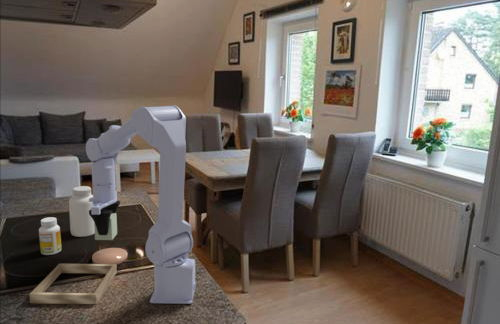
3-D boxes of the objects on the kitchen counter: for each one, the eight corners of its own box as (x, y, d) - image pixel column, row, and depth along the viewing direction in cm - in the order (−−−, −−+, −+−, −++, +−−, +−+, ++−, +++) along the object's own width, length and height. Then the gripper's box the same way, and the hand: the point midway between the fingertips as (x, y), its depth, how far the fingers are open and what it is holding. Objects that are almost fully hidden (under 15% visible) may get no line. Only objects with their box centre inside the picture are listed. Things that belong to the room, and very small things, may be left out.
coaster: (130, 251, 113) (130, 248, 113) (121, 266, 104) (121, 262, 104) (99, 251, 113) (99, 247, 112) (87, 265, 104) (87, 261, 104)
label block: (117, 233, 108) (116, 212, 107) (112, 240, 104) (111, 218, 102) (101, 233, 108) (99, 212, 107) (95, 239, 104) (93, 218, 102)
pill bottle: (93, 237, 122) (90, 191, 119) (66, 237, 121) (63, 191, 118) (100, 228, 130) (98, 184, 127) (76, 228, 129) (73, 184, 126)
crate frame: (116, 272, 101) (116, 264, 101) (96, 304, 87) (96, 295, 86) (59, 271, 101) (59, 263, 100) (30, 303, 86) (29, 294, 86)
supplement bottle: (56, 245, 115) (54, 214, 113) (65, 251, 112) (62, 219, 110) (37, 251, 111) (34, 219, 109) (45, 257, 108) (42, 224, 106)
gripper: (98, 175, 110) (100, 221, 113) (77, 190, 95) (80, 241, 98) (123, 176, 110) (125, 221, 113) (106, 190, 96) (109, 242, 99)
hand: (106, 230), depth 106 cm, fingers closed on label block, 4 cm apart
